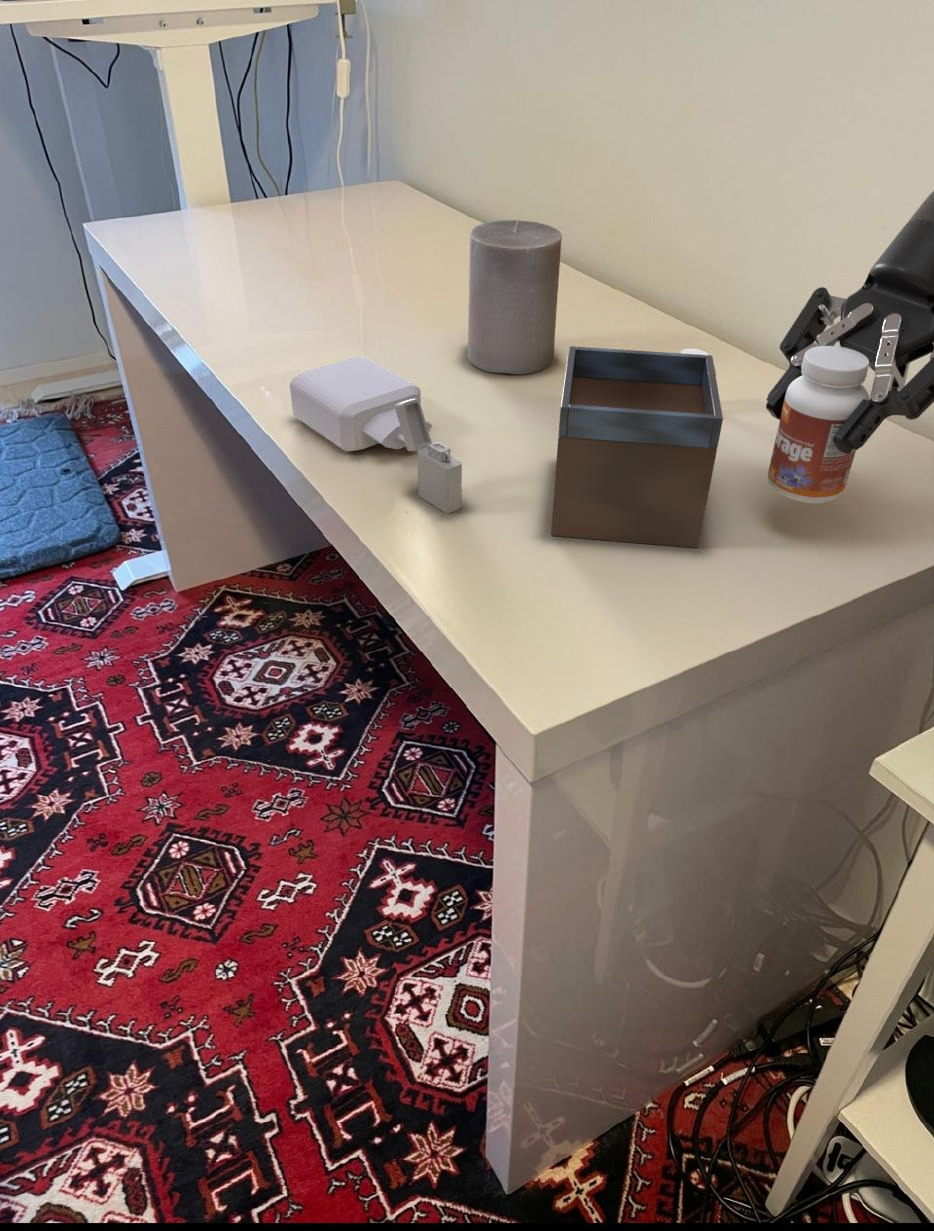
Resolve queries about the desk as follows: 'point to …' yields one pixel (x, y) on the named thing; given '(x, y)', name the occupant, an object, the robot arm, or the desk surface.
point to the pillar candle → (513, 296)
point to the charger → (353, 403)
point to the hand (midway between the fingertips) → (805, 429)
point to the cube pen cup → (636, 446)
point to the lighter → (431, 460)
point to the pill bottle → (817, 425)
